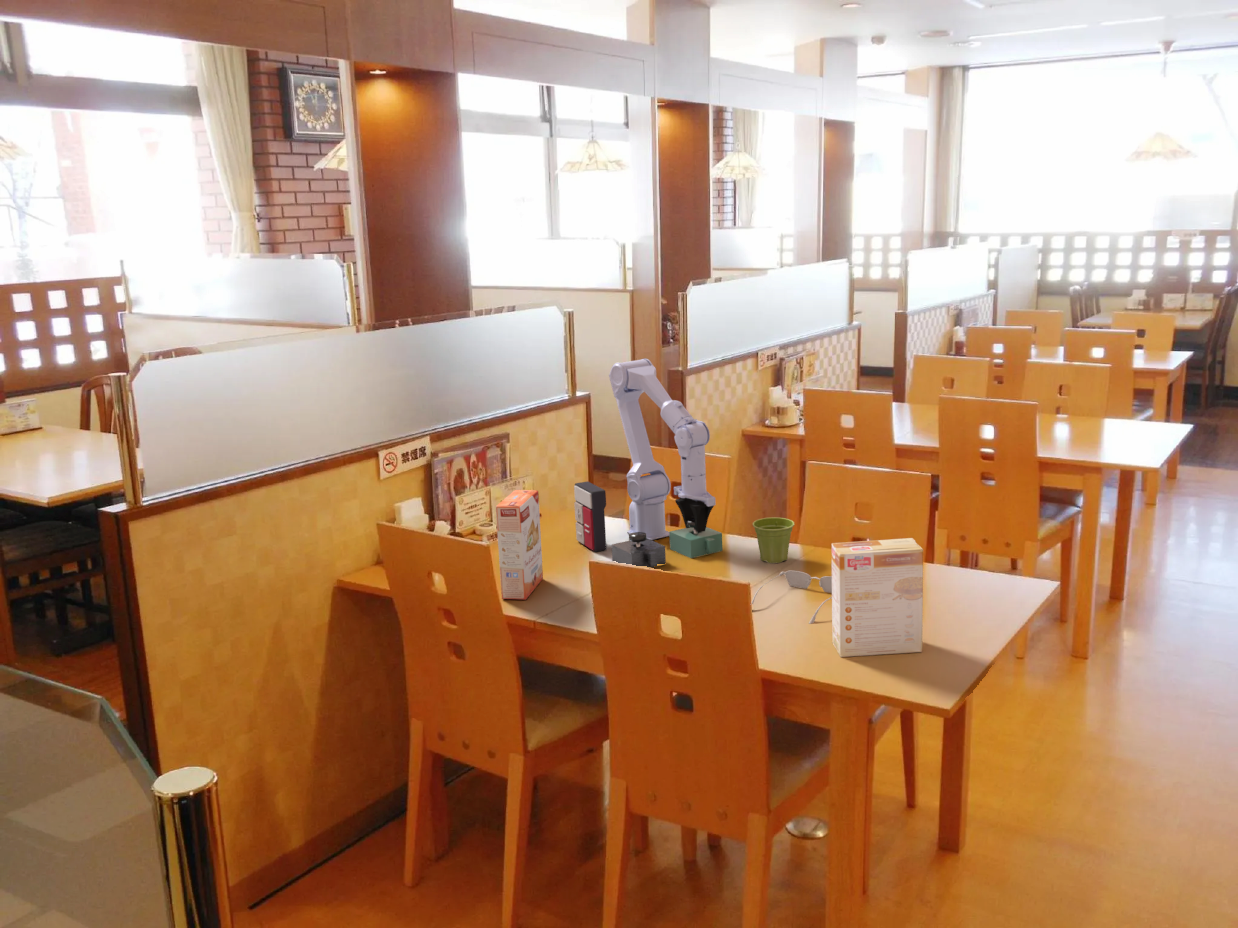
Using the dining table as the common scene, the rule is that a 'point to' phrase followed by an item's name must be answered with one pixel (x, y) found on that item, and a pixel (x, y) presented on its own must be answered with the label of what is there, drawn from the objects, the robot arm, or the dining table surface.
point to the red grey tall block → (590, 515)
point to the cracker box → (519, 544)
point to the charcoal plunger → (637, 537)
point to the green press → (695, 542)
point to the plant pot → (773, 538)
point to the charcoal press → (639, 553)
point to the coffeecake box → (877, 597)
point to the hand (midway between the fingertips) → (695, 529)
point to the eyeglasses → (805, 584)
